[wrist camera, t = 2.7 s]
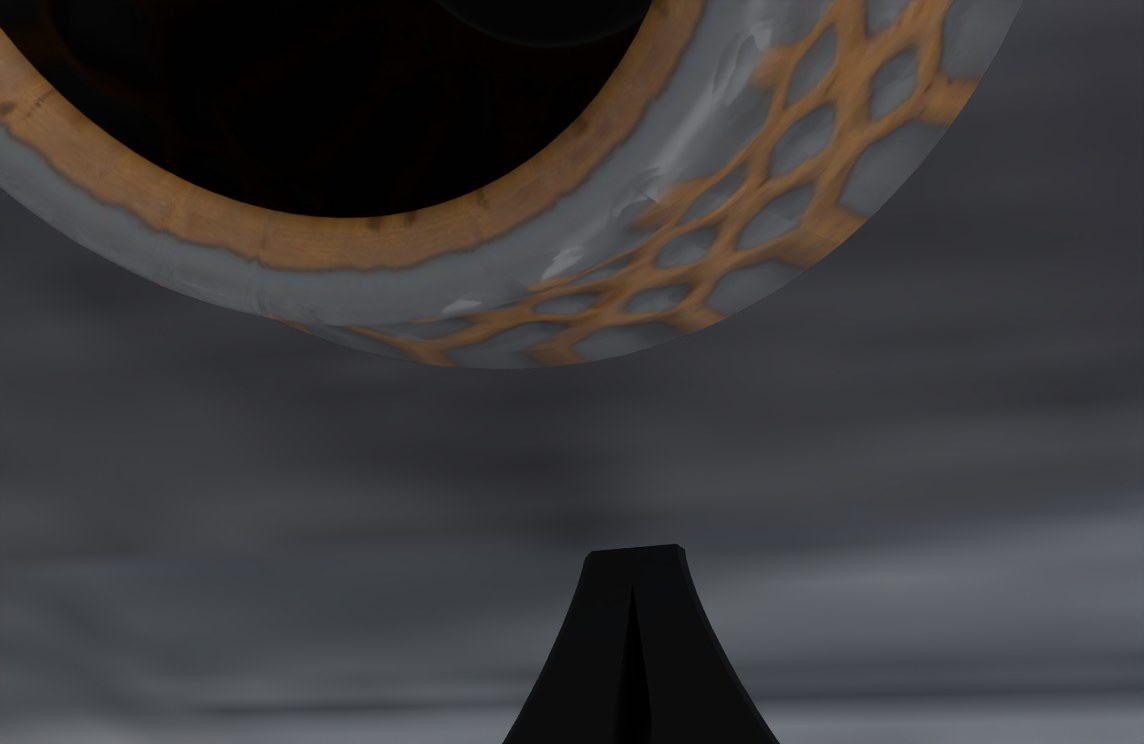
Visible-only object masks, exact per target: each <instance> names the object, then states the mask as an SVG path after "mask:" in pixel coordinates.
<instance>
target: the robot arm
mask: <svg viewBox="0 0 1144 744" xmlns="http://www.w3.org/2000/svg"><path fill="white" fill-rule="evenodd" d="M502 744H780V743H779V742H778V740H777V739H776V737H775V736H774V734H773V733H772V731H771V730H770V728H769V727H768V725H767V724H766V722H765V721H764V719H763V718H762V716H761V714H760V713H759V711H758V710H757V708H756V707H755V705H754V703H753V702H752V700H751V698H750V697H749V695H748V693H747V692H746V690H745V688H744V687H743V685H742V683H741V682H740V680H739V678H738V676H737V675H736V673H735V671H734V669H733V667H732V666H731V664H730V662H729V660H728V658H727V656H726V654H725V652H724V650H723V648H722V646H721V644H720V643H719V641H718V639H717V637H716V635H715V633H714V631H713V629H712V627H711V625H710V622H709V620H708V618H707V616H706V614H705V611H704V609H703V607H702V604H701V602H700V599H699V597H698V595H697V592H696V589H695V587H694V584H693V581H692V578H691V575H690V572H689V568H688V564H687V560H686V555H685V549H683V548H682V547H680V546H679V545H677V544H669V545H657V546H646V547H634V548H623V549H611V550H600V551H592V552H591V553H590V554H589V555H588V556H587V557H586V558H585V561H584V565H583V569H582V572H581V576H580V579H579V582H578V585H577V588H576V591H575V594H574V597H573V599H572V602H571V605H570V607H569V610H568V612H567V615H566V617H565V620H564V622H563V625H562V627H561V629H560V632H559V634H558V636H557V638H556V641H555V643H554V645H553V647H552V650H551V652H550V654H549V656H548V659H547V661H546V663H545V665H544V667H543V669H542V671H541V673H540V676H539V677H538V679H537V681H536V683H535V685H534V687H533V689H532V691H531V693H530V695H529V696H528V698H527V700H526V702H525V704H524V706H523V708H522V710H521V712H520V714H519V716H518V717H517V719H516V721H515V723H514V725H513V726H512V728H511V730H510V731H509V733H508V735H507V737H506V738H505V740H504V742H503V743H502Z"/></svg>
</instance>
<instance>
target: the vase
mask: <svg viewBox="0 0 1144 744" xmlns="http://www.w3.org/2000/svg"><path fill="white" fill-rule="evenodd" d="M1022 2H1023V0H0V188H1V189H2V190H4V191H5V192H6V193H7V194H9V195H10V196H11V197H12V198H13V199H15V200H16V201H17V202H19V203H20V204H21V205H23V206H24V207H26V208H27V209H28V210H30V211H31V212H32V213H34V214H35V215H37V216H38V217H39V218H41V219H42V220H44V221H45V222H46V223H48V224H49V225H51V226H52V227H54V228H55V229H57V230H58V231H60V232H61V233H63V234H65V235H66V236H68V237H69V238H71V239H72V240H74V241H76V242H77V243H79V244H80V245H82V246H84V247H85V248H87V249H89V250H91V251H93V252H94V253H96V254H98V255H100V256H101V257H103V258H105V259H107V260H109V261H110V262H112V263H114V264H116V265H118V266H120V267H122V268H124V269H126V270H128V271H130V272H132V273H135V274H137V275H139V276H141V277H143V278H145V279H147V280H149V281H152V282H154V283H157V284H159V285H161V286H164V287H166V288H169V289H171V290H174V291H176V292H178V293H181V294H184V295H187V296H190V297H193V298H196V299H199V300H202V301H205V302H208V303H210V304H213V305H217V306H221V307H225V308H228V309H232V310H236V311H239V312H243V313H247V314H252V315H257V316H262V317H267V318H272V319H274V320H276V321H279V322H281V323H284V324H286V325H288V326H291V327H293V328H296V329H298V330H300V331H303V332H305V333H308V334H310V335H313V336H316V337H319V338H322V339H325V340H328V341H331V342H334V343H337V344H340V345H343V346H346V347H350V348H353V349H357V350H361V351H364V352H368V353H372V354H376V355H379V356H384V357H389V358H394V359H400V360H405V361H410V362H415V363H423V364H430V365H438V366H446V367H459V368H475V369H532V368H546V367H559V366H566V365H573V364H580V363H587V362H594V361H598V360H603V359H608V358H612V357H617V356H621V355H626V354H630V353H634V352H637V351H640V350H644V349H647V348H651V347H654V346H658V345H661V344H664V343H667V342H670V341H672V340H675V339H678V338H680V337H683V336H686V335H689V334H691V333H694V332H697V331H699V330H701V329H703V328H706V327H708V326H710V325H712V324H714V323H717V322H719V321H721V320H723V319H726V318H728V317H730V316H732V315H734V314H736V313H738V312H739V311H741V310H743V309H745V308H747V307H749V306H751V305H752V304H754V303H756V302H758V301H760V300H762V299H764V298H765V297H767V296H768V295H770V294H772V293H773V292H775V291H776V290H778V289H779V288H781V287H783V286H784V285H786V284H787V283H789V282H791V281H792V280H794V279H795V278H797V277H798V276H800V275H801V274H802V273H804V272H805V271H806V270H808V269H809V268H810V267H812V266H813V265H815V264H816V263H817V262H819V261H820V260H821V259H823V258H824V257H826V256H827V255H828V254H829V253H831V252H832V251H833V250H834V249H836V248H837V247H838V246H839V245H841V244H842V243H843V242H844V241H845V240H846V239H847V238H849V237H850V236H851V235H852V234H853V233H854V232H855V231H856V230H857V229H859V228H860V227H861V226H862V225H863V224H864V223H865V222H866V221H867V220H868V219H870V218H871V217H872V216H873V215H874V214H875V213H876V212H877V211H878V210H879V209H880V208H881V207H882V206H883V205H884V204H885V203H886V202H887V200H888V199H889V198H890V197H891V196H892V195H893V194H894V193H895V192H896V191H897V190H898V189H899V188H900V187H901V185H902V184H903V183H904V182H905V181H906V180H907V179H908V178H909V177H910V176H911V175H912V174H913V173H914V172H915V170H916V169H917V168H918V167H919V166H920V165H921V163H922V162H923V161H924V159H925V158H926V157H927V156H928V154H929V153H930V152H931V151H932V149H933V148H934V147H935V146H936V144H937V143H938V142H939V141H940V139H941V138H942V137H943V136H944V134H945V133H946V132H947V130H948V129H949V127H950V126H951V124H952V123H953V121H954V120H955V119H956V117H957V116H958V114H959V113H960V111H961V110H962V108H963V107H964V106H965V104H966V103H967V101H968V100H969V98H970V97H971V95H972V94H973V92H974V91H975V89H976V87H977V86H978V84H979V82H980V81H981V79H982V77H983V76H984V74H985V72H986V70H987V69H988V67H989V65H990V64H991V62H992V60H993V59H994V57H995V55H996V54H997V52H998V50H999V48H1000V46H1001V44H1002V42H1003V40H1004V38H1005V36H1006V35H1007V33H1008V31H1009V29H1010V27H1011V25H1012V23H1013V21H1014V19H1015V17H1016V15H1017V13H1018V11H1019V9H1020V7H1021V5H1022Z"/></svg>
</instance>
